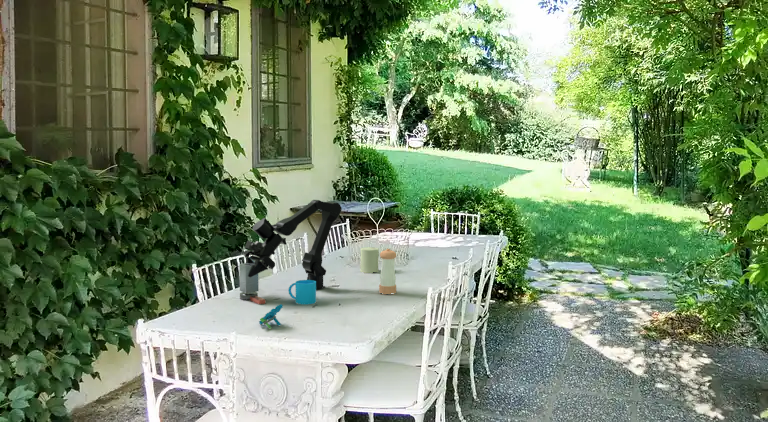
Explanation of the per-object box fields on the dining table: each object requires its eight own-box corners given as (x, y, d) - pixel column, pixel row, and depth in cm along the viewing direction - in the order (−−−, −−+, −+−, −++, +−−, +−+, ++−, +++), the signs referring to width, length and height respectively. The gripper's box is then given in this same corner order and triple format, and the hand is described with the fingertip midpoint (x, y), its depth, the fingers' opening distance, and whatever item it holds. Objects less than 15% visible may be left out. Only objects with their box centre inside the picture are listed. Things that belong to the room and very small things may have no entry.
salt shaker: (398, 292, 277) (399, 248, 275) (391, 295, 270) (392, 250, 269) (383, 290, 280) (384, 246, 278) (376, 293, 274) (376, 249, 272)
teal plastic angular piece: (270, 315, 232) (285, 299, 227) (281, 327, 231) (295, 311, 226) (251, 326, 222) (265, 310, 217) (261, 339, 221) (276, 323, 216)
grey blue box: (252, 288, 267) (251, 262, 266) (258, 291, 263) (258, 264, 261) (239, 290, 263) (239, 264, 262) (245, 293, 259) (245, 266, 258)
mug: (319, 300, 261) (319, 280, 260) (309, 305, 253) (309, 284, 252) (293, 297, 265) (293, 278, 264) (283, 302, 258) (283, 282, 257)
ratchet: (252, 295, 268) (252, 283, 268) (270, 302, 256) (270, 290, 256) (236, 297, 264) (236, 285, 263) (254, 305, 252) (253, 292, 251)
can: (382, 271, 323) (382, 247, 322) (371, 274, 315) (372, 249, 314) (366, 269, 328) (367, 245, 327) (356, 271, 320) (356, 248, 319)
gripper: (246, 230, 270) (222, 259, 265) (268, 236, 256) (242, 266, 250) (263, 247, 276) (240, 276, 270) (285, 253, 261) (261, 284, 256)
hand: (245, 275), depth 261 cm, fingers closed on grey blue box, 6 cm apart
